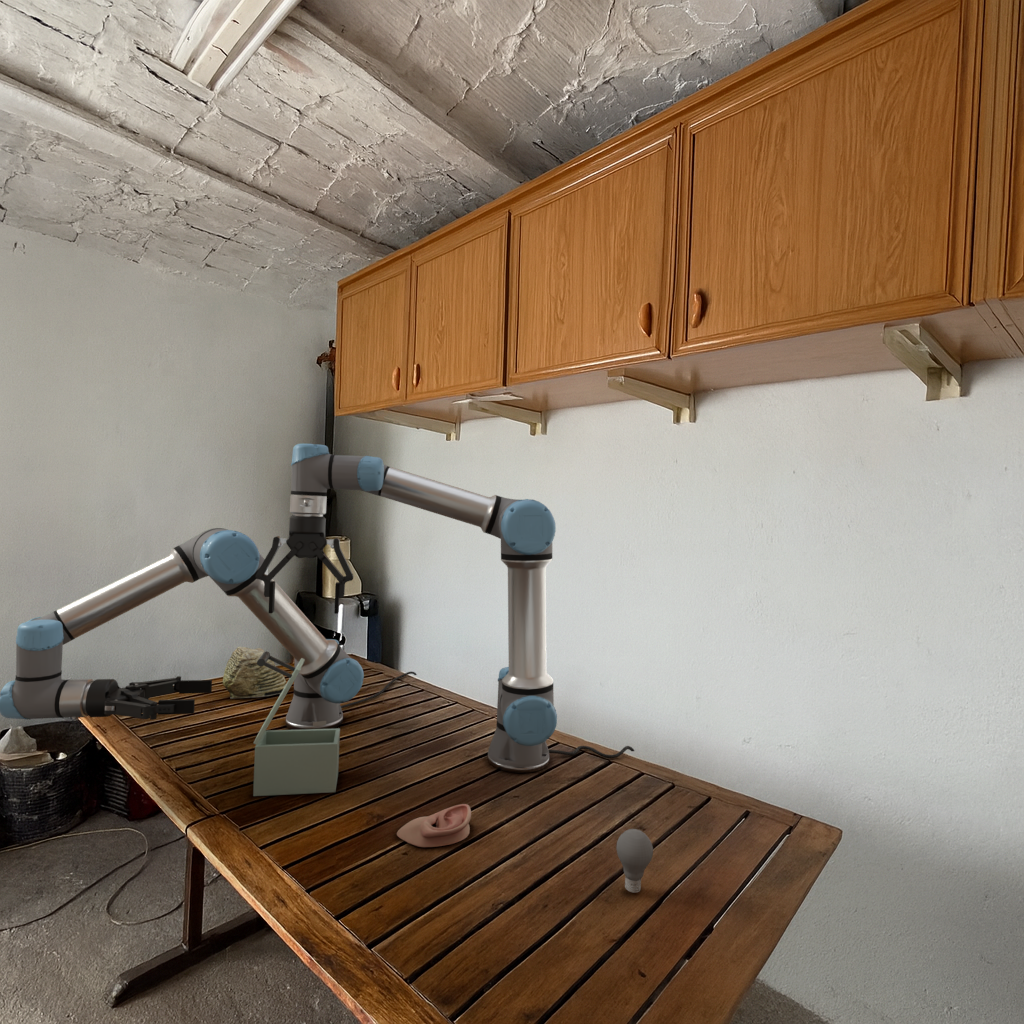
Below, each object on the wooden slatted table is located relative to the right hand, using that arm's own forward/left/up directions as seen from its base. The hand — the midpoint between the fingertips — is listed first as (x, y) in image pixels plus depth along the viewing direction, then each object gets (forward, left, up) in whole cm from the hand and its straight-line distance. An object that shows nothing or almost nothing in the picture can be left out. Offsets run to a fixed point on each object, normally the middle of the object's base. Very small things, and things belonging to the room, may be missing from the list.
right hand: (304, 612), depth 138 cm
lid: (+4, -1, -19) cm, 20 cm away
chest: (0, 0, -38) cm, 38 cm away
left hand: (+20, -3, -18) cm, 27 cm away
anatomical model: (-24, +28, -38) cm, 53 cm away
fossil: (+11, -67, -38) cm, 78 cm away
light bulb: (-52, +55, -38) cm, 84 cm away
